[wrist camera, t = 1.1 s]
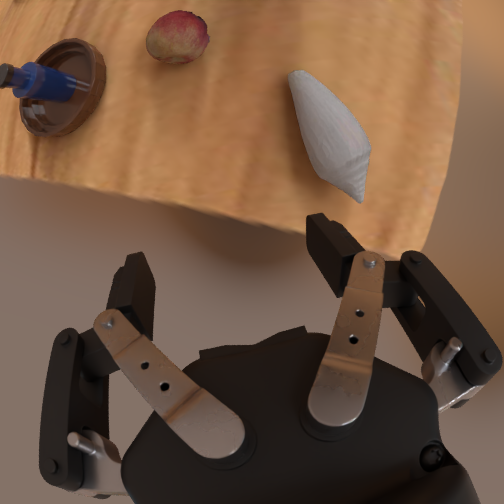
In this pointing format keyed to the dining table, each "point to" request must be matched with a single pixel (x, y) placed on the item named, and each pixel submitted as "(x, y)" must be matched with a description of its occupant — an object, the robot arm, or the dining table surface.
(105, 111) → the dining table surface
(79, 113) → the bowl
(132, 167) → the dining table surface
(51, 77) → the soy bottle
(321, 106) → the seashell
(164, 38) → the fruit
